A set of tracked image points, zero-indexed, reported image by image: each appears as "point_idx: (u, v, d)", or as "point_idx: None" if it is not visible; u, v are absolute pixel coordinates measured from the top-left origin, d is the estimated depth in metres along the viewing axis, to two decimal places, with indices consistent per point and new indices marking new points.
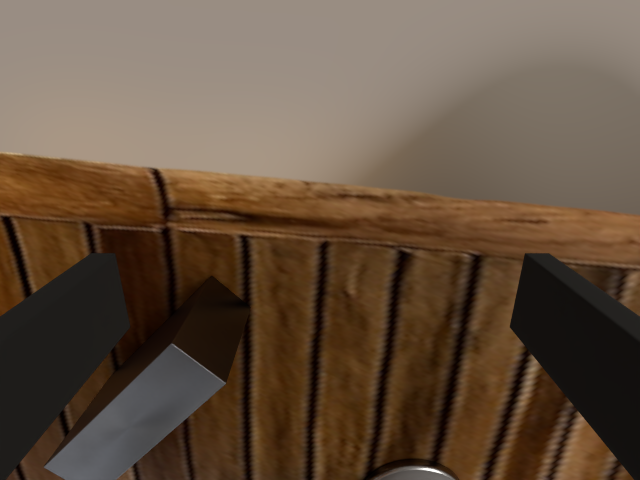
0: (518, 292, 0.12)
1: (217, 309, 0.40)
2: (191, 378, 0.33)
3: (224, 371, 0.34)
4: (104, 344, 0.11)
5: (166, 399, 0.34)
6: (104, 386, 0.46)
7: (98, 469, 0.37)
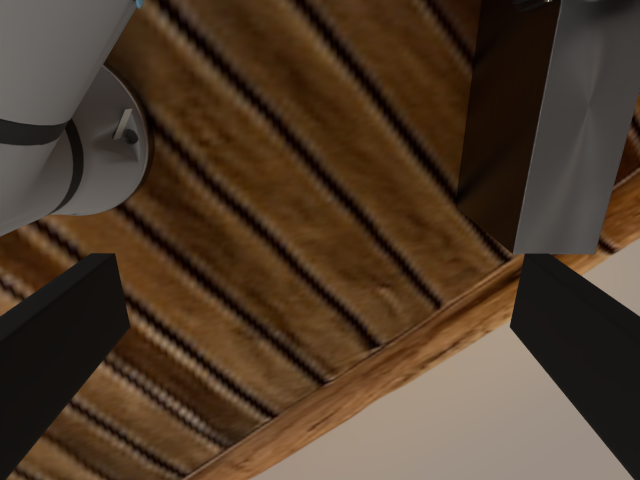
0: (518, 292, 0.12)
1: None
2: (552, 231, 0.27)
3: None
4: (104, 344, 0.11)
5: (565, 184, 0.26)
6: None
7: None
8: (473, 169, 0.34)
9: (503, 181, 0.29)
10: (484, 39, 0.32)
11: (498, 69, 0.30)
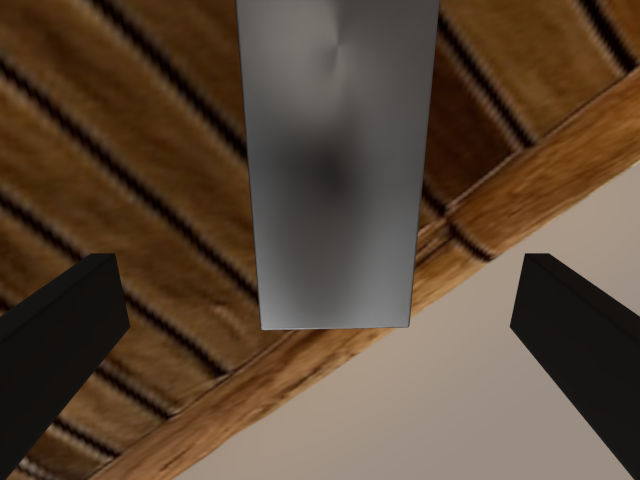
0: (518, 292, 0.12)
1: None
2: (322, 291, 0.14)
3: None
4: (104, 344, 0.11)
5: (326, 206, 0.13)
6: None
7: None
8: None
9: None
10: None
11: None
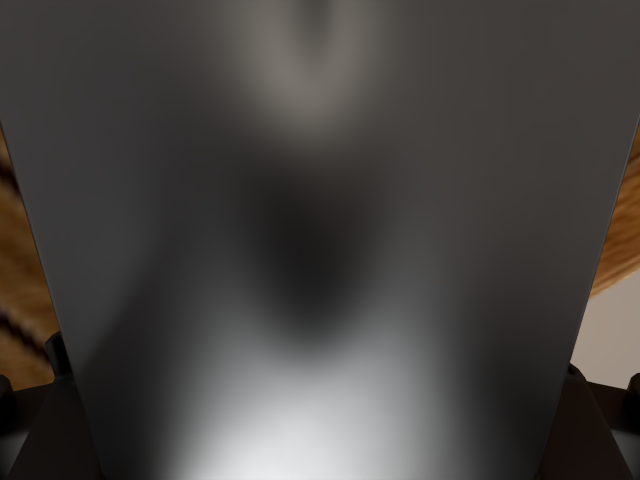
0: None
1: None
2: None
3: None
4: None
5: (293, 421, 0.05)
6: None
7: None
8: None
9: None
10: None
11: None
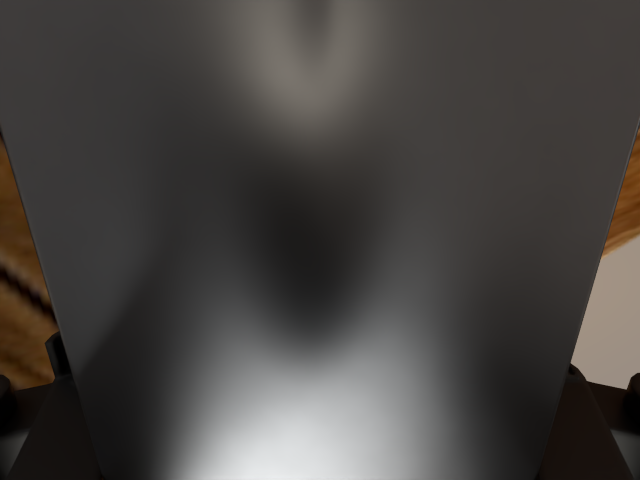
0: None
1: None
2: None
3: None
4: None
5: (293, 422, 0.05)
6: None
7: None
8: None
9: None
10: None
11: None
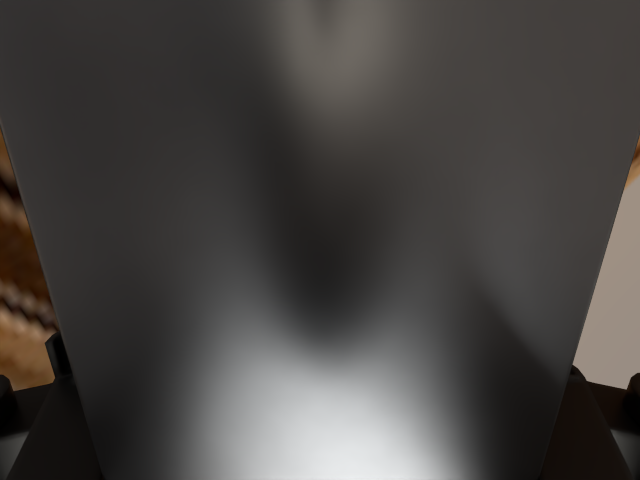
0: None
1: None
2: None
3: None
4: None
5: (295, 424, 0.05)
6: None
7: None
8: None
9: None
10: None
11: None
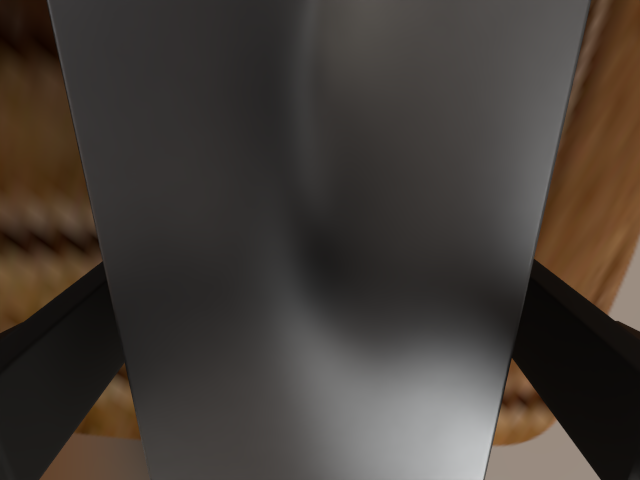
0: None
1: None
2: None
3: None
4: None
5: (296, 368, 0.06)
6: None
7: None
8: None
9: None
10: None
11: None
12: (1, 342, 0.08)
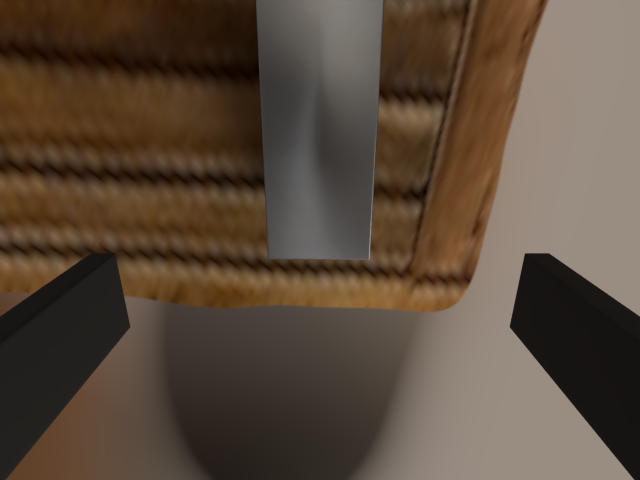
0: (518, 292, 0.12)
1: None
2: (310, 231, 0.21)
3: None
4: (105, 344, 0.11)
5: (313, 172, 0.20)
6: None
7: None
8: None
9: None
10: None
11: None
12: None
